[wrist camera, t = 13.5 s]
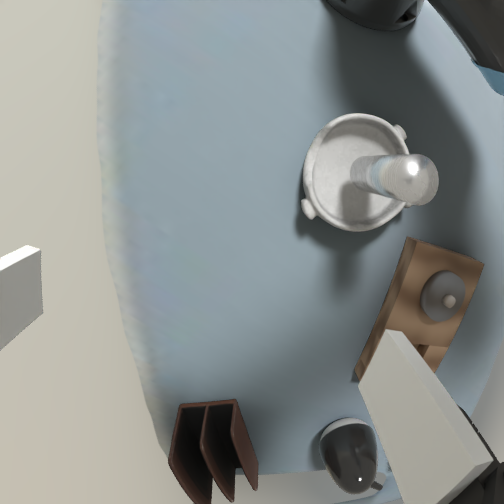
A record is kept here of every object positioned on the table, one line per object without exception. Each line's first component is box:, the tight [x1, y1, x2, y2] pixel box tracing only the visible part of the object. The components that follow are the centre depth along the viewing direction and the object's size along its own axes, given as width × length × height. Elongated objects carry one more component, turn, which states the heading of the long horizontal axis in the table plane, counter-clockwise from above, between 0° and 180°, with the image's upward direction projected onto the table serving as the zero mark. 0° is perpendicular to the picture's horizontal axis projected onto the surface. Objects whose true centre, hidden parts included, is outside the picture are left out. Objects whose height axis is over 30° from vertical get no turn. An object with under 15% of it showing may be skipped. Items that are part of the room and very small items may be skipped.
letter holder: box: [168, 399, 258, 504], centre depth 43 cm, size 10×20×14 cm, turn 11°
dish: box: [301, 113, 413, 232], centre depth 34 cm, size 14×14×5 cm
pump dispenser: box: [318, 418, 383, 494], centre depth 41 cm, size 10×10×15 cm
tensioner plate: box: [354, 236, 484, 381], centre depth 39 cm, size 22×14×6 cm, turn 167°
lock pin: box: [350, 154, 439, 205], centre depth 26 cm, size 4×4×12 cm
